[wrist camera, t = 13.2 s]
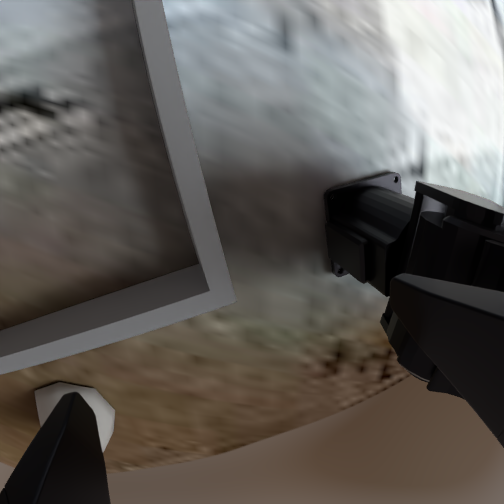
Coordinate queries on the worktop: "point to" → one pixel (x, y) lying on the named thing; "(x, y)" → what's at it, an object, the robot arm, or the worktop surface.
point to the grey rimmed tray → (159, 289)
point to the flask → (100, 406)
